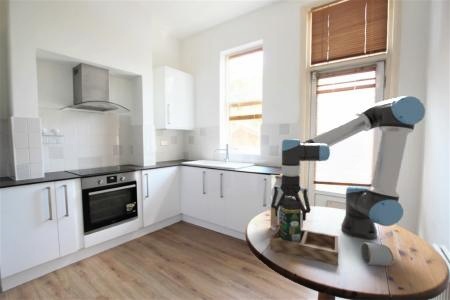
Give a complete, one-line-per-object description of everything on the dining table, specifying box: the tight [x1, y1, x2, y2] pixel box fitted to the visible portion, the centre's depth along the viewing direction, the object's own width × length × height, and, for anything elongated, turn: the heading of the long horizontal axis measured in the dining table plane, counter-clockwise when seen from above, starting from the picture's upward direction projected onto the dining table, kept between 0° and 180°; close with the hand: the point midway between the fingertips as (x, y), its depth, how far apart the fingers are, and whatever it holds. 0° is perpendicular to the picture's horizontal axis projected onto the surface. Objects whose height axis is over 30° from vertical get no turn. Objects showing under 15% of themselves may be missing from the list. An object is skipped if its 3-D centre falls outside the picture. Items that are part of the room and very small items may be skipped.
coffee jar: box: [280, 196, 302, 243], centre depth 95 cm, size 10×8×19 cm
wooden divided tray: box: [269, 225, 339, 267], centre depth 92 cm, size 26×15×5 cm, turn 63°
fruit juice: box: [270, 174, 290, 232], centre depth 112 cm, size 9×9×28 cm
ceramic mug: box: [360, 241, 394, 267], centre depth 83 cm, size 11×8×8 cm
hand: (290, 225), depth 95 cm, fingers open, 9 cm apart
